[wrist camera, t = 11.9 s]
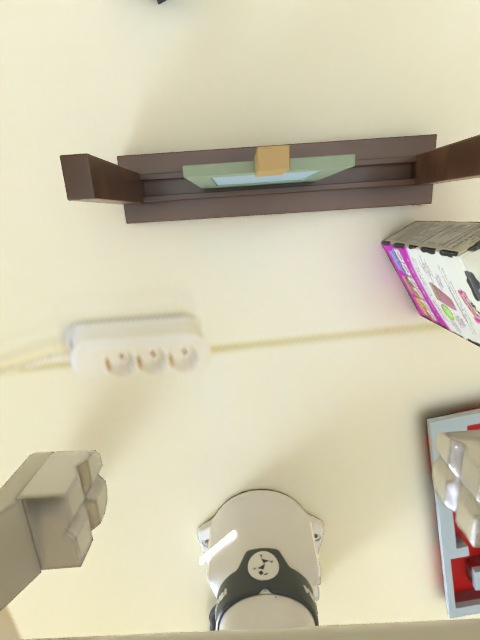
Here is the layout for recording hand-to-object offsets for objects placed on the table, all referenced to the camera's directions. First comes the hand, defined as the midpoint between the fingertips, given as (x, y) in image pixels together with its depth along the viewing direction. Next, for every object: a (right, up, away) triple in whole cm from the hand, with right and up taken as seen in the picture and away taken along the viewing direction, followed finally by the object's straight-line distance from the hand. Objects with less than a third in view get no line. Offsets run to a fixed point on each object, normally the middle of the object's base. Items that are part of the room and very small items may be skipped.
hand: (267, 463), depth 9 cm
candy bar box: (+21, +10, +36) cm, 43 cm away
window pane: (+1, +19, +31) cm, 36 cm away
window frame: (+3, +19, +33) cm, 38 cm away
